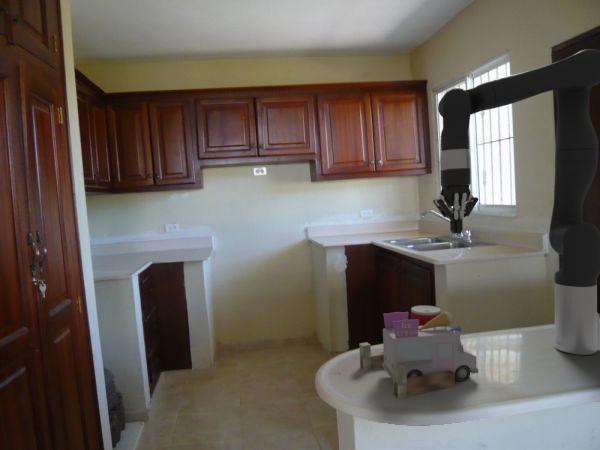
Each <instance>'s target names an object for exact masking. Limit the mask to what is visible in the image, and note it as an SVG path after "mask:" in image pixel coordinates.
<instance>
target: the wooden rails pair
mask: <svg viewBox="0 0 600 450" xmlns="http://www.w3.org/2000/svg"><path fill="white" fill-rule="evenodd" d="M371 350H372V347H371V344H370V343H368V342H367V341H366V342H361V343H359V367H360V369H362V370H363V371H367V370H372V369H377V368H383V367H382V363H384V351H383V352H376V353H375V352H374V353H371V352H372V351H371ZM392 383H393V396H395V397H396V398H398V399H401V398H407V397H409V396H413V395H418V394H425V393H429V392H434V391H437V390H438V391H439V390H443V389H448V388H452V387H453V388H454V387H456V378H455V373H454V372H452V371H451V370H449V371H444V372H438V373H433V374H428V375H423V376H417V377H412V378H407V376H406V368H405V367H403V366H402V365H399V366H393V379H392Z"/></svg>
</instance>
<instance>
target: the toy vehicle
mask: <svg viewBox="0 0 600 450" xmlns="http://www.w3.org/2000/svg"><path fill="white" fill-rule="evenodd" d="M409 314H410V313H409V311H405V312H402V311H401V312H400V311H396V312H395V311H394V312H389V313H386V312H385V313H383V320H384V328H382V339H383V341H382V342H383V345H382V347H383V352H384V363H382V367H381V368H382V369H384V371H385V372H386V374H388V376H389V377H390V378H391V379H392V380H393V366H399V365H402V366H403V367H405V368H406V376H407V378H412V377H417V376H423V375H428V374H433V373H438V372H444V371H449V370H451V371H452V372H454V373H455V380H456V381H458V382H465V381H467V380H468V379H470V376H471V374H478V373H479V369H478V368H477V367H478V366H477V356H476V355H474V354H473V353H472V352H470V351H469V350H467V349H466V348H465V347H464V344H463V343H462V341H461V333H460V332H462V327H461V325H457V326H455V327H450V325H451V324H452V322H453V315H452V314H451V313H450V312H448V311H442V312H441V314H439V315H438V316H436V317H435V318H433V319H432V320H431V321H429V322H428V323H426V324H425V325H424V326H419V319H416V320H411V319H410V318H409Z"/></svg>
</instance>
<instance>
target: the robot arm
mask: <svg viewBox="0 0 600 450" xmlns="http://www.w3.org/2000/svg"><path fill="white" fill-rule="evenodd" d="M599 83H600V50H599V49H594V48H588V49H583V50H580V51H578V52H576V53H575V54H572V55H570V56H568V57H565V58H564V59H561V60H558V61H556V62H554V63H553V62H552V63H550V64H547V65H544V66H541V67H538V68H535V69H531V70H528V71H523V72H520V73H516V74H511V75H507V76H504V77H499V78H496V79H492V80H489V81H485V82H482V83H479V84H478V85H476V86H474V87H472V88H468V89H464V88H462V87H455V88H452V89H448V91H446V93H445V94H444V95H443V96H442V97H441V99H440V100H439V102H438V105H437V109H438V110H437V112H438V114H439V115H440V116H441V117H442V130H441V133H440V158H439V167H440V168H439V170H440V171H439V173H440V176H439V177H440V187H441V190H440V195H439V197H437V198H434V199H433V200H432V202H433V204H434V206H435V207H436V208H437V210H438V211H439V213H440V214H441V215H442V217H444V218H447V219H449V226H450V227H449V229H450V232H451V234H453V235H454V234H455V235H458V234H459V235H460V234H462V232H463V227H464V226H463V224H464V223H463V222H464V221H463V220H464V218H466V217H469V216H470V214H471V213H472V212H473V209H474V208H475V207H476V205H477V203H478V201H479V198H478V197H474V195H472V190H471V189H470V185H471V184H472V181H471V180H472V179H471V178H472V177H471V174H472V173H471V172H472V171H471V170H472V169H471V168H472V167H471V154H470V135H469V134H470V133H469V129H470V123H471V116H472V115H474V114H476V113H480V112H483V111H488V110H493V109H497V108H501V107H505V106H508V105H512V104H515V103H518V102H521V101H525V100H527V99H529V98H532V97H535V96H538V95H541V94H544V93H548V92H551V91H555V90H556V100H557V123H556V140H555V141H556V142H555V143H556V145H555V156H554V158H555V159H554V187H553V189H554V190H553V207H552V213H551V219H550V224H549V225H550V226H549V232H548V239H549V240H548V241H549V244H550V247H551V249H553V251H554V252H556V253H557V254H559V255H562V264H561V268H559V269H558V270H557V271H555V272H554V347H555V348H556V349H557V350H559V351H561V352H564V353H567V354H573V355H581V356H582V355H583V356H585V355H586V356H588V355H594V354H596V353H597V352H598V351H599V350H600V313H598V291H597V290H598V278H599V276H600V231H599V229H598V228H597V226H596V225H594V224H592V223H590V222H588V221H587V222H586V221H583V213H584V212H583V209H584V202H585V198H586V196H587V193H588V191H589V189H590V187H591V185H592V182H593V181H594V178H595V176H596V172H597V169H598V161H599V160H598V159H599V140H598V137H597V132H596V130H595V128H594V125H593V121H592V119H591V115H590V97H591V90H592V88H594V86H597V85H598V84H599Z"/></svg>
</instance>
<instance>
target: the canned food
mask: <svg viewBox="0 0 600 450" xmlns="http://www.w3.org/2000/svg"><path fill="white" fill-rule="evenodd" d="M441 311H442V310H441V308H439V307H438V306H433V305H425V304H424V305H421V304H420V305H415V306H412V307H411V309H410V320H416V319H419V326H424V325H425V324H426V323H428V322H429V321H431V320H432V319H433V318H435V317H436V316H438V315H439V314H441V313H442V312H441Z"/></svg>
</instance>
